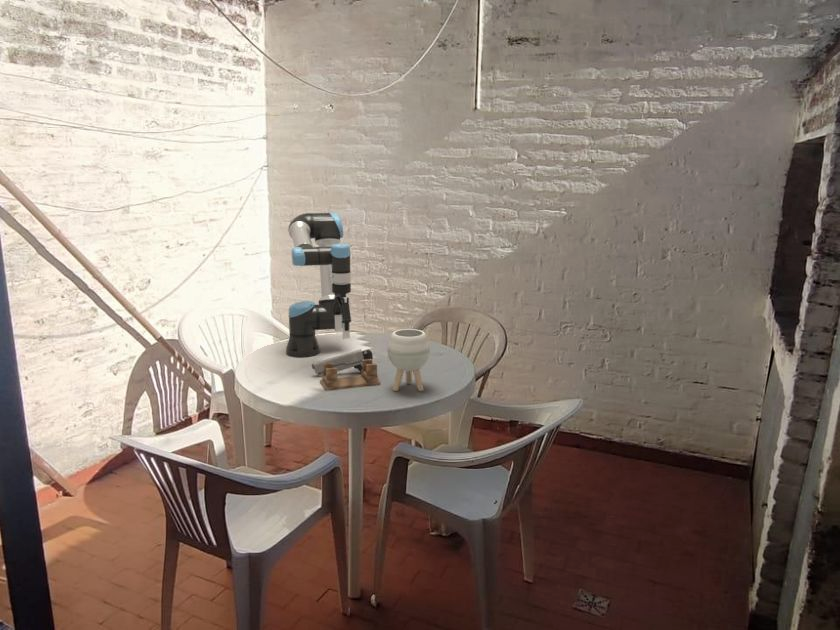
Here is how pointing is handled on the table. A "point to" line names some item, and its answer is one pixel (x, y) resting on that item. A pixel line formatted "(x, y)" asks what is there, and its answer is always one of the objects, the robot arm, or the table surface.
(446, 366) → the table surface
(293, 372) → the table surface
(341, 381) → the display stand
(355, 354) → the gun
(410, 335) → the planter
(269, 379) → the table surface
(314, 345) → the robot arm
